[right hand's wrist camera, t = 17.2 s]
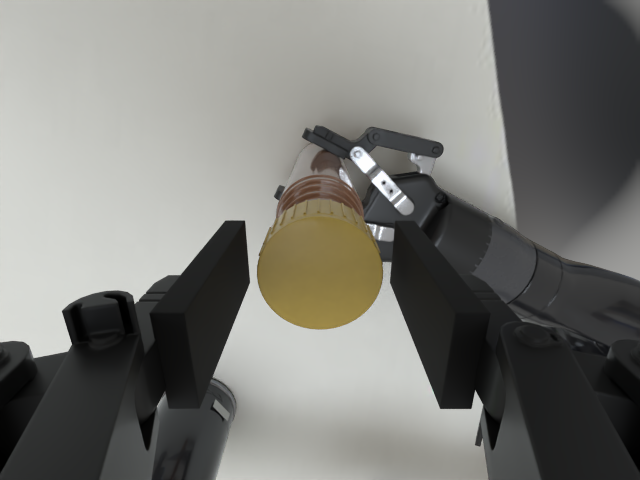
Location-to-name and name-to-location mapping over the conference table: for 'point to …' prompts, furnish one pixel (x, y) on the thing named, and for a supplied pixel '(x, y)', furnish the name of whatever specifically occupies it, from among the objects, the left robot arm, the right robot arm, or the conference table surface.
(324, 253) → the cap
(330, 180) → the bottle
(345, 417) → the conference table surface
